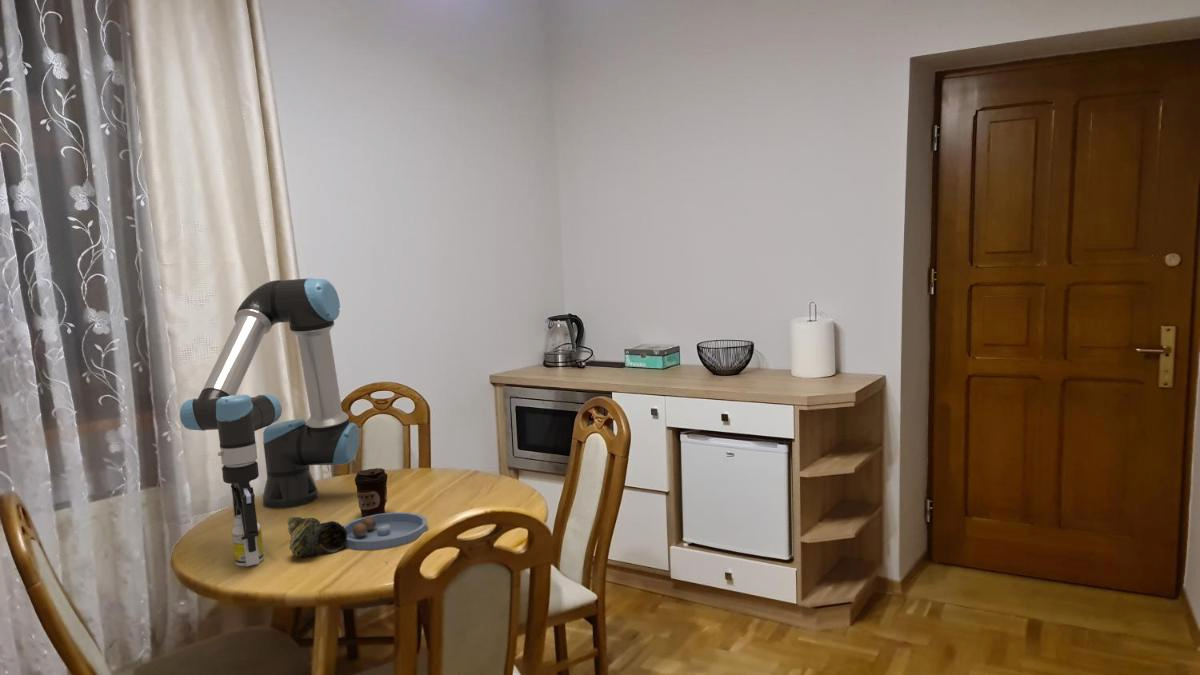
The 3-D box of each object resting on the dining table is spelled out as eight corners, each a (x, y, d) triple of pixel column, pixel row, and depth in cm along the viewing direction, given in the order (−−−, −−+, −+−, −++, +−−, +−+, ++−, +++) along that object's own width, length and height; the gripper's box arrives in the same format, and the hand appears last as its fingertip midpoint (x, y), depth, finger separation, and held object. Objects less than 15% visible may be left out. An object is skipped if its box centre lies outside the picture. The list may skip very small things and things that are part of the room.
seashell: (328, 566, 179) (324, 523, 178) (282, 565, 182) (278, 522, 181) (351, 549, 190) (347, 508, 189) (307, 548, 192) (303, 507, 191)
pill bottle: (258, 554, 189) (254, 509, 188) (268, 561, 185) (263, 515, 184) (231, 562, 185) (226, 516, 184) (240, 569, 181) (235, 522, 179)
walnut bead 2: (360, 530, 200) (359, 516, 200) (373, 527, 202) (372, 513, 202) (364, 533, 198) (363, 520, 197) (378, 530, 200) (377, 517, 199)
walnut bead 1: (351, 536, 196) (350, 523, 196) (365, 533, 198) (364, 519, 198) (355, 540, 193) (354, 526, 193) (370, 537, 195) (368, 523, 195)
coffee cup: (380, 524, 207) (376, 475, 205) (351, 524, 208) (347, 475, 207) (395, 513, 215) (392, 466, 214) (367, 513, 217) (363, 466, 215)
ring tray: (328, 536, 200) (327, 525, 199) (408, 517, 211) (407, 506, 211) (355, 560, 182) (354, 548, 182) (440, 537, 194) (440, 526, 194)
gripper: (214, 458, 188) (224, 552, 191) (230, 474, 172) (240, 577, 175) (248, 452, 193) (257, 544, 195) (266, 467, 177) (276, 567, 179)
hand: (249, 559), depth 185 cm, fingers open, 6 cm apart
